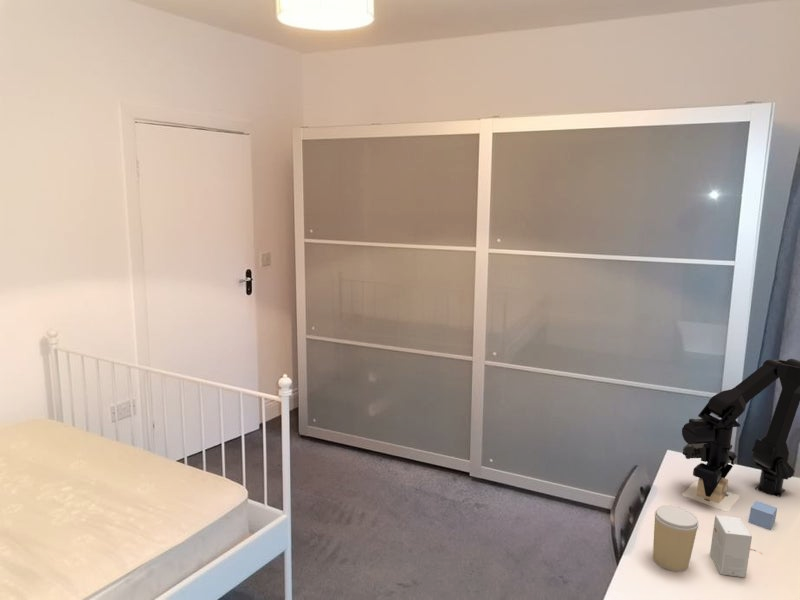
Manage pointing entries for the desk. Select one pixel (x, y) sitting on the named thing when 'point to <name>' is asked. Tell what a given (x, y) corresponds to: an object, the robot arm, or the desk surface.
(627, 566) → the desk surface
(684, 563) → the coffee cup
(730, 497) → the board
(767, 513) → the slate blue cube
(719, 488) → the light oak block
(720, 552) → the small box
